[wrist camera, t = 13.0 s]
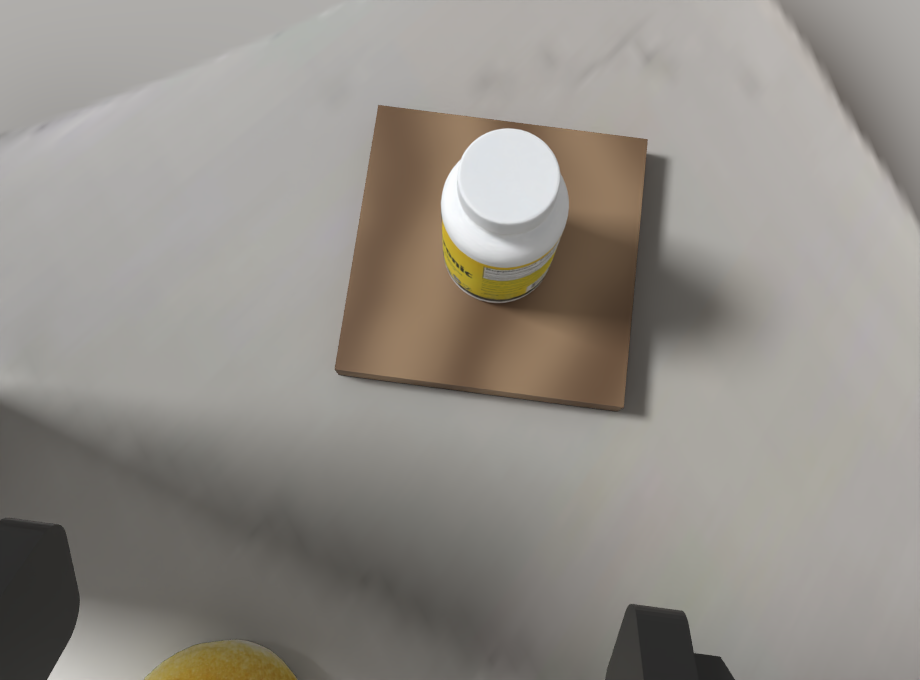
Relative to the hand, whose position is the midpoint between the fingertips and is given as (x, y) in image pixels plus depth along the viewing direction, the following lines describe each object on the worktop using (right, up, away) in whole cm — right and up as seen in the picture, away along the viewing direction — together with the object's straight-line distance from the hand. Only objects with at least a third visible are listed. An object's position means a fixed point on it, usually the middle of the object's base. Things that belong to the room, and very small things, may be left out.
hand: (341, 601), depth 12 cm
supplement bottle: (+4, +8, +30) cm, 31 cm away
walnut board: (+3, +8, +31) cm, 32 cm away
